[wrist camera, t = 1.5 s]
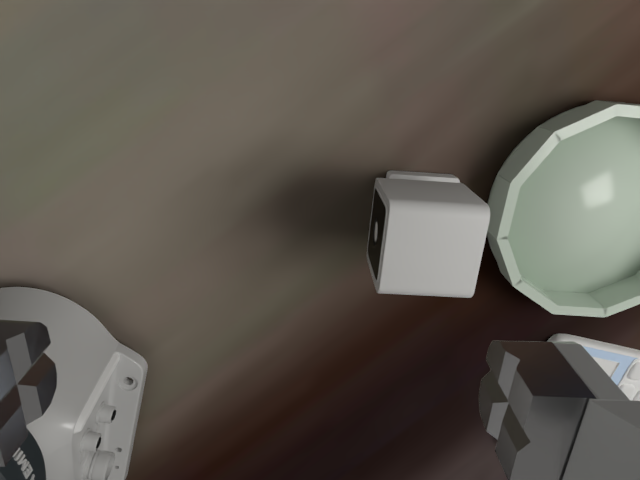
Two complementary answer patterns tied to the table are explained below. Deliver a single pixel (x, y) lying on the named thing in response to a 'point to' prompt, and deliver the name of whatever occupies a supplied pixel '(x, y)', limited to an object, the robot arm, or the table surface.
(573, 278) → the faceted green bowl
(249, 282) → the table surface
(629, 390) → the calculator
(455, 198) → the security camera
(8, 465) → the robot arm
